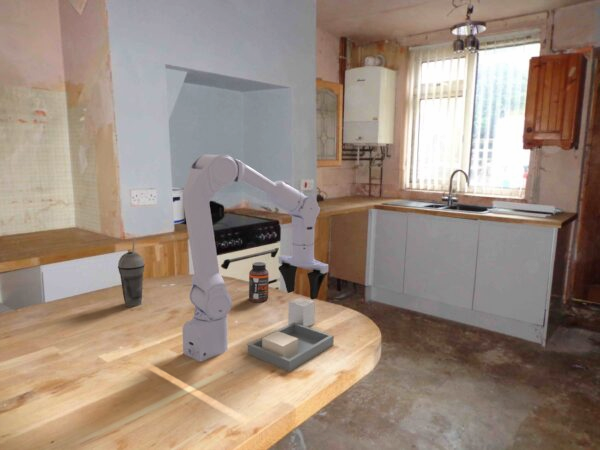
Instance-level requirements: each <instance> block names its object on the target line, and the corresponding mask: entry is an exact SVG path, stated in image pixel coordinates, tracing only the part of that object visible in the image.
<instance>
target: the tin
mask: <svg viewBox="0 0 600 450" xmlns="http://www.w3.org/2000/svg"><path fill="white" fill-rule="evenodd" d="M315 310H316V301H315V300H312V299H308V298H305V297H300V296H299V297H297V298H295V299H293V300H290V301H288V322H287V323H288V324H287V325H289V324H291V323H293V322H294V323H297V324H300V325H303V326H306V327H309V328H310V327H311V326H314V324H315Z"/></svg>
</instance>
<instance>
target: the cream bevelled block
mask: <svg viewBox="0 0 600 450" xmlns="http://www.w3.org/2000/svg"><path fill="white" fill-rule="evenodd" d="M275 331H276V332H275ZM275 331H273V332H274V333H272V332H271V333H272V334H270V333H269V334H270V335H268V334H267V335H268V336H266V335H265V336H266V337H264V336H263V337H264V338H262V337H261V338H262V348H263V349H266V350H268V351H271V352H273V353H276V354H278V355H281V356H283V357H286V358H288V359H290V358H291V357H293V356H295V355H297V354H298V338H296V337H293V336H290V335H287V334H285V333H282V332H279V331H277V330H275Z"/></svg>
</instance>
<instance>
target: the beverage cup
mask: <svg viewBox="0 0 600 450" xmlns="http://www.w3.org/2000/svg"><path fill="white" fill-rule="evenodd" d="M132 238H133V239H132V248H131V249H132V250H131V251H128V252H126V253H124V254H123V255H121V257H120V258H119V260H118V265H117V268H118V269H117V270H118V273H119V274H120V282H121V287H122V288H121V289H122V295H123V300H124V305H125V306H126V307H131V308H133V307H138V306H140V305H142V303H143V302H142V298H143V287H144V286H143V284H144V283H143V282H144V281H143V280H144V270H145V266H146V265H145V261H144V259H143V258H142V256H141V255H140V254H139V253H138V252H135V245H136V236H133V237H132Z"/></svg>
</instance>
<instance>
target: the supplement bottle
mask: <svg viewBox="0 0 600 450" xmlns="http://www.w3.org/2000/svg"><path fill="white" fill-rule="evenodd" d="M269 276H270V275H269V271H268V269H267V266H266V263H265V262H262V261H258V262H257V261H256V262H253V263H252V266H251V269H250V270H249V272H248V299H249V300H250V301H252V302H257V303H261V302H266V301H268V299H269V294H270V293H269V292H270V291H269V284H270V283H269V280H270V279H269V278H270V277H269Z"/></svg>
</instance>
